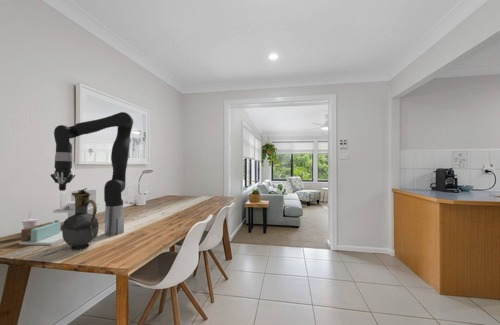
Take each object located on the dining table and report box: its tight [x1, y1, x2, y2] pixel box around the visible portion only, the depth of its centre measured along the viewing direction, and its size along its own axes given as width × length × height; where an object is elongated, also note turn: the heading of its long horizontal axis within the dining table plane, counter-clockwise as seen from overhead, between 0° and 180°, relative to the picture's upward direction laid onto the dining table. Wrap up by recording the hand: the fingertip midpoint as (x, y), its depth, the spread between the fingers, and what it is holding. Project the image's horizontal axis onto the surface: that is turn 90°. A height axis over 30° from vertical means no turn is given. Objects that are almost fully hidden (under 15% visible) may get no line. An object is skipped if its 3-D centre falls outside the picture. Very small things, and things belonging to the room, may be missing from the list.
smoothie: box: [21, 211, 39, 229], centre depth 122 cm, size 6×6×14 cm
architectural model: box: [53, 189, 99, 218], centre depth 150 cm, size 28×21×23 cm
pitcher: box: [61, 187, 99, 251], centre depth 107 cm, size 11×19×30 cm, turn 67°
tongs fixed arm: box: [20, 221, 55, 242], centre depth 118 cm, size 15×3×6 cm, turn 179°
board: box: [19, 230, 65, 246], centre depth 120 cm, size 17×20×1 cm
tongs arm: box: [31, 219, 62, 241], centre depth 119 cm, size 17×4×7 cm, turn 4°
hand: (62, 190), depth 121 cm, fingers closed
